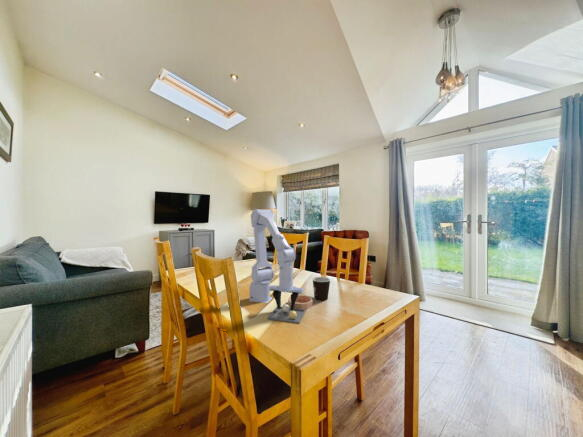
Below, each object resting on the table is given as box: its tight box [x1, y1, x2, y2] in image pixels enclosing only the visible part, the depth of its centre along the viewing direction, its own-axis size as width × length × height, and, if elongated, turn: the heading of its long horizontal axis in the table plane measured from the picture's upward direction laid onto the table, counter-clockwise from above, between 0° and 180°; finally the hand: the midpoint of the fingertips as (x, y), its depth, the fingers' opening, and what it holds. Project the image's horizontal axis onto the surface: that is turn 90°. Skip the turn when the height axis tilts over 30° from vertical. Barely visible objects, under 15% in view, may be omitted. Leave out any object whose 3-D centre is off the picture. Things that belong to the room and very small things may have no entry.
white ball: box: [281, 303, 291, 312], centre depth 98 cm, size 3×3×3 cm
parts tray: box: [267, 306, 307, 325], centre depth 96 cm, size 13×12×1 cm
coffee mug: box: [312, 276, 331, 302], centre depth 117 cm, size 12×9×10 cm
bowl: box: [287, 294, 314, 310], centre depth 107 cm, size 11×11×3 cm
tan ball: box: [289, 311, 297, 319], centre depth 92 cm, size 3×3×3 cm
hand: (285, 309), depth 98 cm, fingers open, 5 cm apart
